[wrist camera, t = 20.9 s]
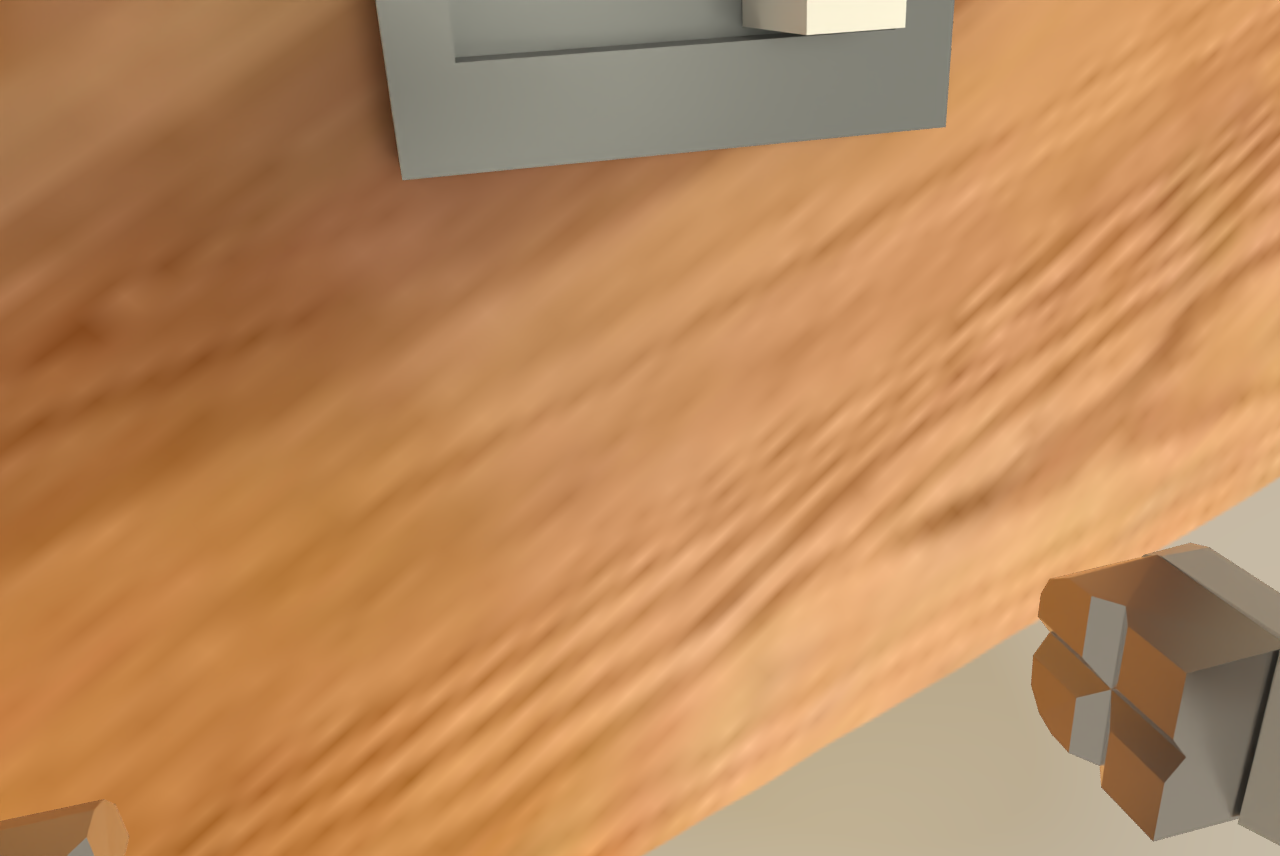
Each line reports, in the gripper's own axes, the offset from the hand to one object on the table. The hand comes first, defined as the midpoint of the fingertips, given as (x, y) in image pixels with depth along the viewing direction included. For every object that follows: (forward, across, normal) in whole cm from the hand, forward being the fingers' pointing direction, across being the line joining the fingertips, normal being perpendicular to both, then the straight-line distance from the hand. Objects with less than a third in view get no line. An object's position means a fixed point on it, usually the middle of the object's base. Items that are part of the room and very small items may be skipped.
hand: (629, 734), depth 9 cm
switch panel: (+28, -9, -5) cm, 30 cm away
